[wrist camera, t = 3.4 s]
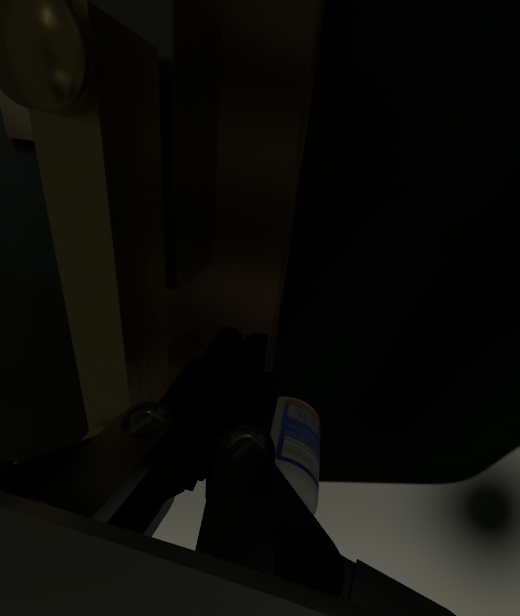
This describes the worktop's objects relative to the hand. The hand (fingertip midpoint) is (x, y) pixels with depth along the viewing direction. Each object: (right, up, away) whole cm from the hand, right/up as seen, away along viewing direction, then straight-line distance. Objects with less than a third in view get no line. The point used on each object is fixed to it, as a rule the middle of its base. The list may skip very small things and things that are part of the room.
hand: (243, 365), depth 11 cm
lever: (-3, +5, +6) cm, 8 cm away
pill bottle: (+3, -7, +15) cm, 17 cm away
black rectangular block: (-4, +10, +4) cm, 11 cm away
